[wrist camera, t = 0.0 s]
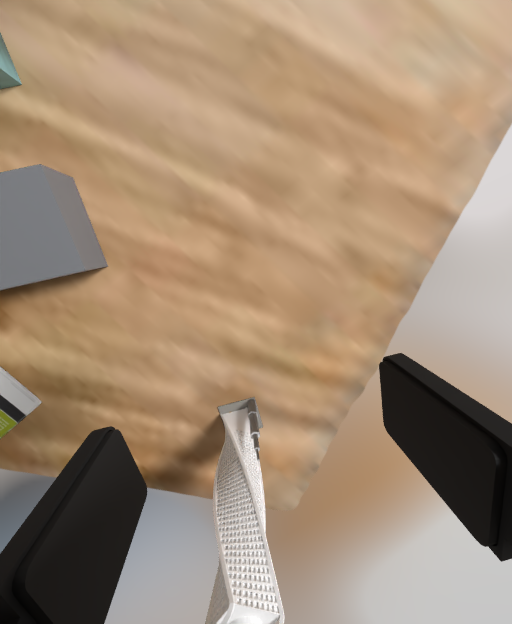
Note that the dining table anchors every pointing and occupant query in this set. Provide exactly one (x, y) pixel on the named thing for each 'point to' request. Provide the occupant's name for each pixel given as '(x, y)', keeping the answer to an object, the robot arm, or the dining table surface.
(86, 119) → the dining table surface
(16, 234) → the plinth
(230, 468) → the skyscraper
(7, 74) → the teal block
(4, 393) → the tea box
